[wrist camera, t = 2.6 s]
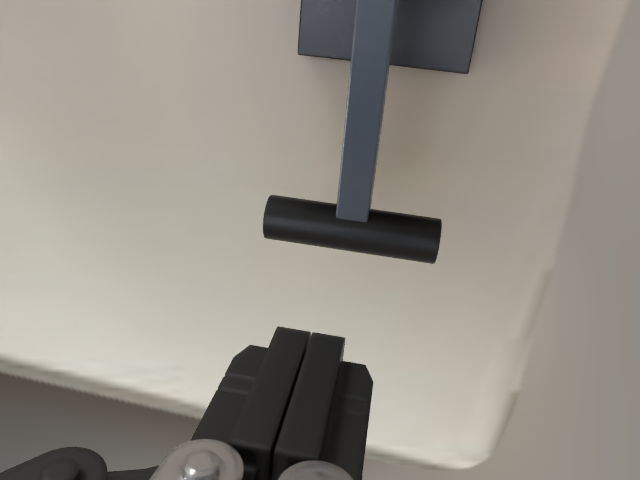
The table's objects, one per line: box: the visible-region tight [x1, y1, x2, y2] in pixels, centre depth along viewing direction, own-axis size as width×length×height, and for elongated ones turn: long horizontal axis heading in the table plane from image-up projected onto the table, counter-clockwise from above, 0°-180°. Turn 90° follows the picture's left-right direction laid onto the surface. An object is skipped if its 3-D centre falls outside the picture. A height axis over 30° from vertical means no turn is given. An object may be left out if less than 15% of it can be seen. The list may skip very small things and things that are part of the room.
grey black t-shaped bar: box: [263, 0, 442, 264], centre depth 17 cm, size 12×6×2 cm, turn 175°
